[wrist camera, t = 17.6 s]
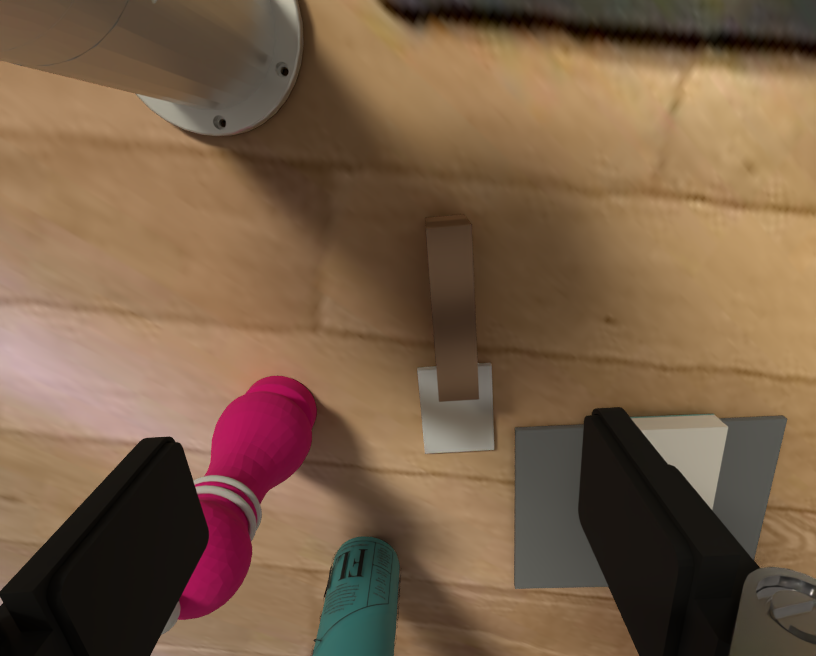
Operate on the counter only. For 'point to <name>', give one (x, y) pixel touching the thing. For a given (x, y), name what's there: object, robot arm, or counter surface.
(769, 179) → the counter surface
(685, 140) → the counter surface
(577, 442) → the tile mat
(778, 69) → the counter surface
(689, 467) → the tile
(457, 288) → the wooden handled spatula
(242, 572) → the pepper mill
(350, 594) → the beverage bottle
